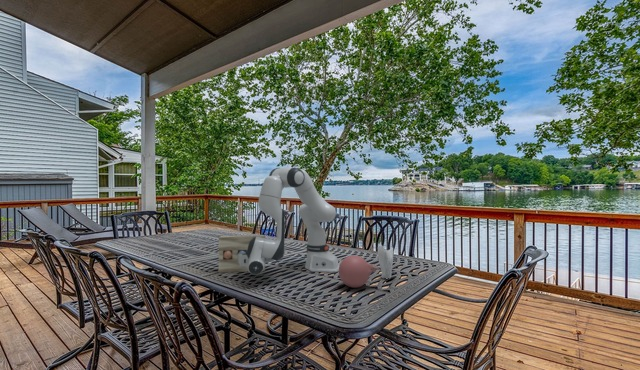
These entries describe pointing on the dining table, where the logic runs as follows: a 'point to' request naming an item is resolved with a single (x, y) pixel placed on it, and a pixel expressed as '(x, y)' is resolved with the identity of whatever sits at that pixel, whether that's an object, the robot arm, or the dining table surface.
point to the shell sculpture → (385, 261)
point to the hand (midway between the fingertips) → (256, 254)
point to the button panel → (233, 252)
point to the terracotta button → (227, 254)
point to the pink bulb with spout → (355, 271)
